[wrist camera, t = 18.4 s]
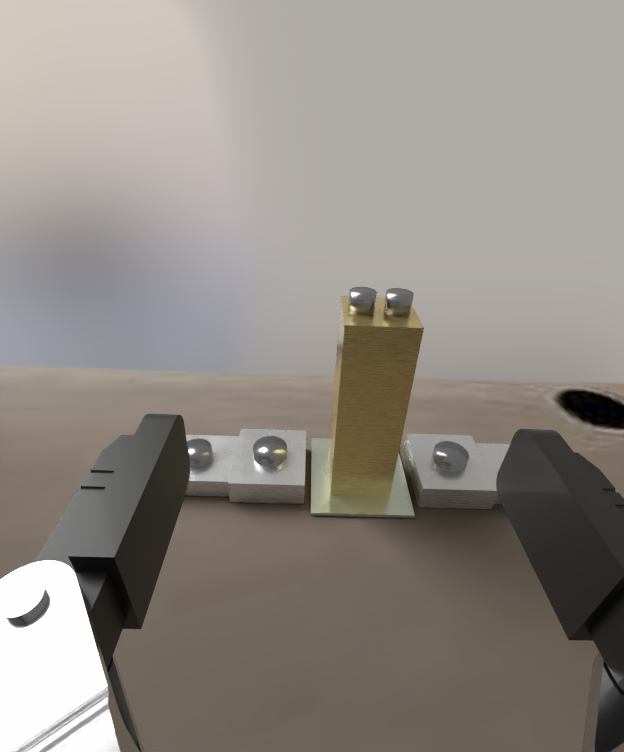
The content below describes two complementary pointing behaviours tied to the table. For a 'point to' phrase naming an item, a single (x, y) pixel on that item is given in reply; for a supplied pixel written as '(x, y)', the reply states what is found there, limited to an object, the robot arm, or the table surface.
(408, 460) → the studded plate chain
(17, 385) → the table surface
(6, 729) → the robot arm
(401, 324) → the tall studded toy brick
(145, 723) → the table surface
